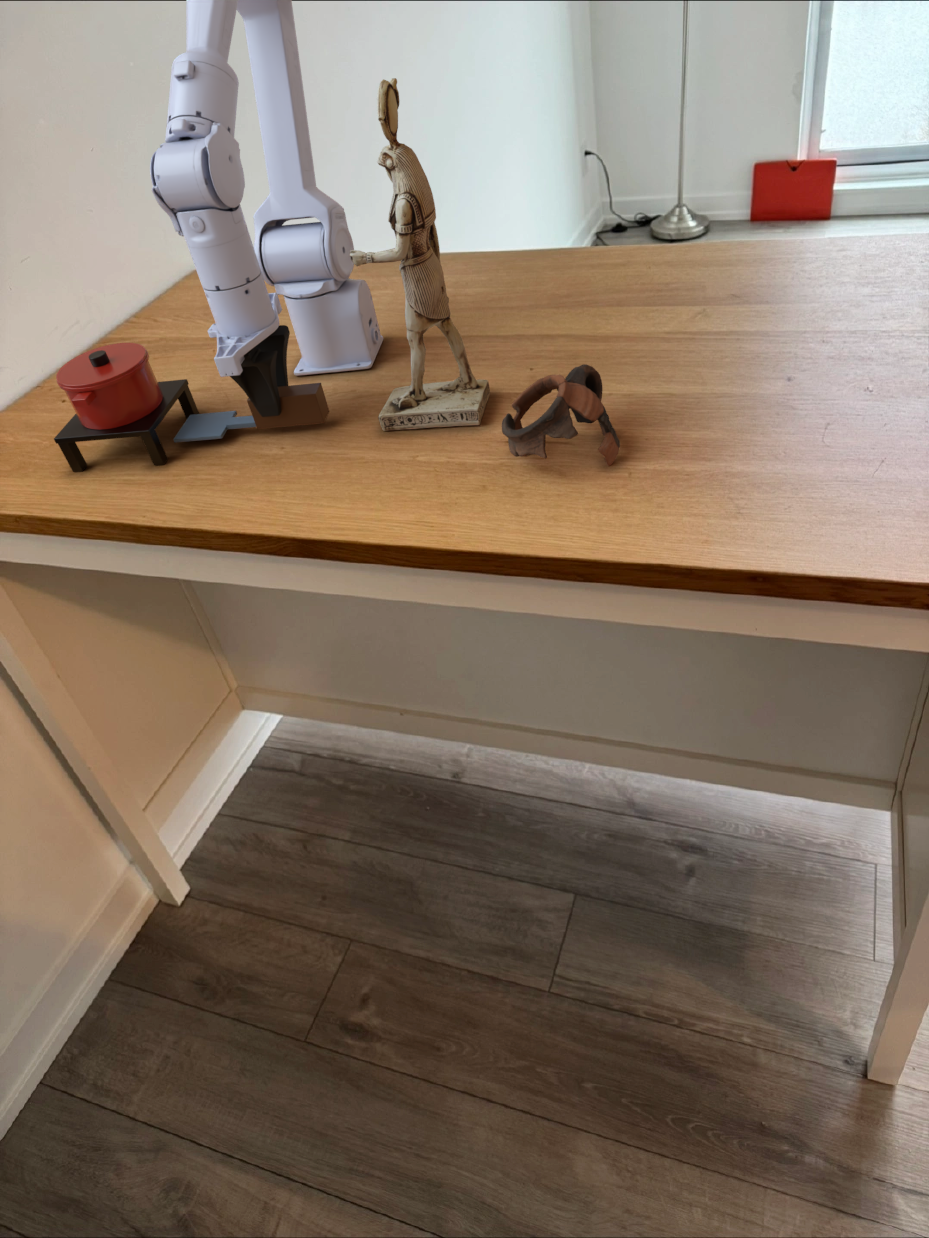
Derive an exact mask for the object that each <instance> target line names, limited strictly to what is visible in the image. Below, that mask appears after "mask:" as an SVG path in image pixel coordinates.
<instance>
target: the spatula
mask: <svg viewBox="0 0 929 1238" xmlns="http://www.w3.org/2000/svg"><path fill="white" fill-rule="evenodd" d="M278 391H279V396H280V401H281V414H280V415H279V416H269V417H262V416H261V415H260V414H259V412H258V411H257V409H256V408H255V406H254V405H253V403H252V402H251V400H250V399H249V397H248V398H247V399H246V402H247V404H248V407H249V410H250V414H251V415H242V416H241V415H240V416H237V415H238V412H237V410H228V411H227V410H225V411H216V412H205V413H199V414H193V415H190V416H189V417H188V419H186V420H185V422H183V424H182V426H181V427H180V429H179V430H178V431H177V432H176V434H175V436H174V437H173V439H172V440H173V443H185V442H196V441H197V442H198V441H209V440H219V439H220V440H221V439H223V438H224V436H225V434H226V433H227V431H228V430H238V429H249V428H256V430H260V429H271V428H272V429H273V428H283V427H293V426H295V427H296V426H306V425H318V424H324V423H325V422H326V420H327V418H328V416H329V413H330V408H329V405H328V402H327V398H326V395H325V392H324V388H323V385H322V383H321V382H314V383H303V384H302V383H301V384H293V385H288V386H280V387H278Z"/></svg>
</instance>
